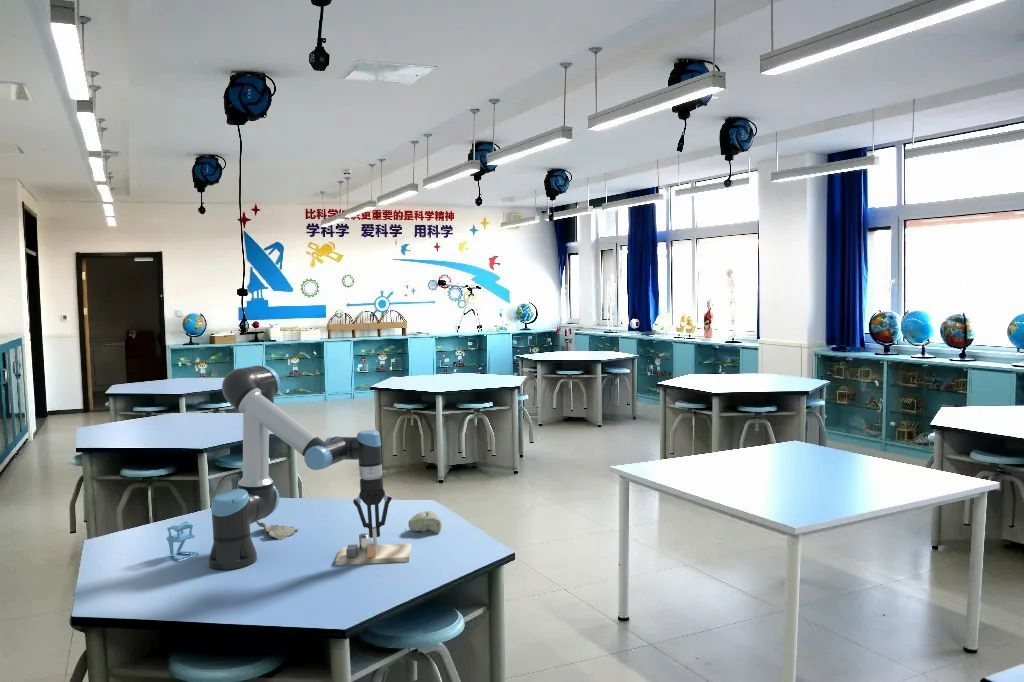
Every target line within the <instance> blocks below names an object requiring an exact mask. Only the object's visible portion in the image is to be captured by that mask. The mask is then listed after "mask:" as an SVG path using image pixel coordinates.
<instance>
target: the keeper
mask: <svg viewBox="0 0 1024 682" xmlns="http://www.w3.org/2000/svg"><path fill="white" fill-rule="evenodd" d="M358 546H359V545H358V544H348V545H347V546H346V547H347V549H346V556H347V559H350V558H356V556H357V554H358Z"/></svg>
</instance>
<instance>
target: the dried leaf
mask: <svg viewBox="0 0 1024 682" xmlns="http://www.w3.org/2000/svg"><path fill="white" fill-rule="evenodd" d="M255 523H256V524H257V525H258V527H261V528H263V531H264V532H265V533H266V535H267V536H268V537H271V538H274V539H276V540H277V541H283V540H285V539H287V538H290V537H291V536H293V535H294V533H295V532H296V531H298V530H300V529H298V528H297V527H296V526H285V525H279V524H275V525H274V524H267V523H265V522H260V520H258V521H256V522H255Z"/></svg>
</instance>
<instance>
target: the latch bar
mask: <svg viewBox="0 0 1024 682" xmlns="http://www.w3.org/2000/svg"><path fill="white" fill-rule="evenodd" d="M358 542H359V544H358V546H359V547H360V549H362V551H363V552H364V553H365V555H366V556H367V558H374V557H376V546H375V544H374V543H373V540H372V538H370V537H369V533H363V532H362V533H360V534H359V535H358Z"/></svg>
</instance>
